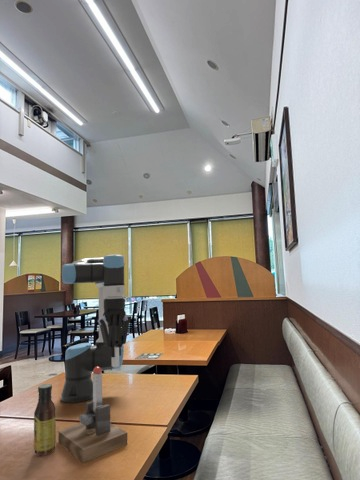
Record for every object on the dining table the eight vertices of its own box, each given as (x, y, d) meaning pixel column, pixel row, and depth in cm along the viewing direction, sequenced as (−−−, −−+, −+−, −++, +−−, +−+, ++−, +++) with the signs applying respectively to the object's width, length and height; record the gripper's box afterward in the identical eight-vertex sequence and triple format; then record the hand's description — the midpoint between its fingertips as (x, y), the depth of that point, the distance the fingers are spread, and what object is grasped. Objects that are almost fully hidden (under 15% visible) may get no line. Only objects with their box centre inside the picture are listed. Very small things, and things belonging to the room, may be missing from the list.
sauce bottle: (37, 447, 104) (38, 382, 107) (58, 446, 105) (58, 381, 108) (30, 458, 98) (31, 389, 101) (51, 456, 99) (52, 387, 101)
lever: (79, 421, 106) (78, 369, 108) (98, 415, 111) (97, 364, 113) (85, 425, 103) (85, 371, 105) (104, 418, 107) (104, 367, 110)
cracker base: (58, 442, 107) (58, 405, 109) (99, 427, 117) (99, 393, 119) (83, 463, 94) (83, 420, 96) (127, 444, 104) (126, 406, 106)
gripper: (103, 299, 111) (104, 371, 107) (135, 296, 119) (137, 364, 116) (92, 299, 116) (93, 368, 113) (124, 296, 125) (125, 361, 122)
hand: (115, 366), depth 115 cm, fingers closed
